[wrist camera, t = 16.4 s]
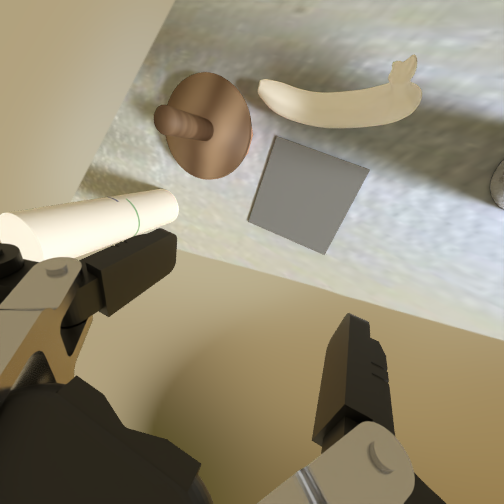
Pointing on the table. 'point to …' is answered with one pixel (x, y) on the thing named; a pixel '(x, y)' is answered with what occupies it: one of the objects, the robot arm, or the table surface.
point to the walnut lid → (206, 125)
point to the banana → (347, 101)
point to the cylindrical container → (85, 224)
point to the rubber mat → (305, 194)
